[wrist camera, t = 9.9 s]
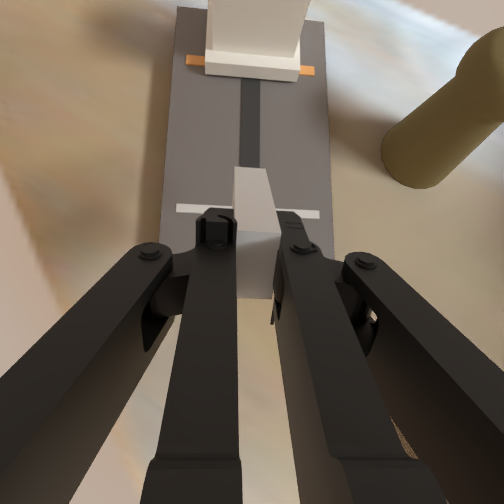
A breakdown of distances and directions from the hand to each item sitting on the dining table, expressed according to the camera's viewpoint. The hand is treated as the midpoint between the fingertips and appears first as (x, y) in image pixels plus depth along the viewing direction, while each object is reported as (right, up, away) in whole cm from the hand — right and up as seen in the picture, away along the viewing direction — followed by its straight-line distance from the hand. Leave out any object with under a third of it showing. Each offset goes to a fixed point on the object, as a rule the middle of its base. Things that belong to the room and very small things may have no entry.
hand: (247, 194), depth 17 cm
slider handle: (0, +13, +10) cm, 17 cm away
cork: (+14, +5, +12) cm, 19 cm away
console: (0, +5, +10) cm, 12 cm away
